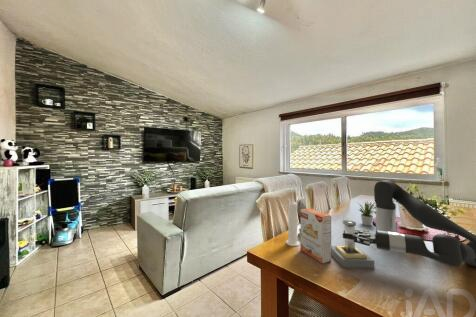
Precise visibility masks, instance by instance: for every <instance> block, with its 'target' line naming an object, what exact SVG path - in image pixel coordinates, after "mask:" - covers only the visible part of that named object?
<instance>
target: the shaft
mask: <svg viewBox="0 0 476 317" xmlns="http://www.w3.org/2000/svg"><path fill="white" fill-rule="evenodd" d="M342 224H343V225H344V230H345V233H347V234H355V230H356V228H355V226H357V222H356V221H354V220H351V219H350V220H349V219H345V220H342ZM344 246H345V252H346V253H355V247H356V242H354V241H353V239H352V240H351V239H345V238H344Z"/></svg>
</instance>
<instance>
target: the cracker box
mask: <svg viewBox="0 0 476 317" xmlns="http://www.w3.org/2000/svg"><path fill="white" fill-rule="evenodd" d="M300 228H301V234H300V235H301V237H300V238H299V239H300V241H299V243H300V244H299V246H300V248H299V249H300V251H301V252H303V253H304V254H306V255H308V256H309V257H311V258H312V259H314V260H316V261H317V262H318V263H320V264H321V265H322V264H326V263H330V262H332V254H331V246H332V215H330V214H327V213H324V212H321V211H318V210H316V209H313V208H309V207H308V208H301V209H300Z"/></svg>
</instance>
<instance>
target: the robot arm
mask: <svg viewBox="0 0 476 317" xmlns="http://www.w3.org/2000/svg"><path fill="white" fill-rule="evenodd" d="M373 195H374V202H375V205H376V206H375V207H376V208H375V211H376V212H375V233H372V232H370V230H365V229H364V230H361V229H360V230H359V229H355V234H347V233H345V229H344V230H343V233H342V238H343V239H344V240H345V239H351V240H352V239H353V241H354V242H355V244H360V245H364V246H368V247H370V246H371V245H376V248H377V249H378V250H384V251H390V252H395V253H404V254H410V255H415V256H420V257H425V258H428V259H430V260H433V261H435V262H439V263H441V264H443V265H445V266H448V267H454V268H455V267H460V266H461V265H463V263H465V264H468V265H470V266H472V267H475V268H476V235H475V234H474V233H472V232H470V231H469V230H467V229H466V228H464V227H462V226H460V225H459V224H457V223H456V222H454V221H452V220H451V219H450V218H448V217H447V216H446V215H443V214H442V213H441V212H440V211H438V210H436V209H435V208H433V207H432V206H430V205H428V204H426V203H425V202H423V201H422V200H420V199H419V198H418V197H415V196H414V195H412V194H410V193H409V192H408V191H406V190H405V189H404V188H403V187H401V186H400V185H399V184H397V183H396V182H394V181H392V180H388V179H387V180H386V179H385V180H380V181H377V182H376V183H375V184H374V189H373ZM394 201H396V202H398V203H400V204H401V205H402V207H403V208H404V209H405V210H406V211H407V212H408V214H409V215H410V216H411V217H413V219H415V220H416V221H417V222H420V224H422V226H425V227H427V228H429V229H433V230H437V231H441V232H446V233H450V234H453V235H456V236H459V237H462V238H464V239H466V240H468V242H467V243H464V242H462V241H461V240H460V239H459V238H456V237H454V236H452V235H448V234H444V233H440V234H435V235H434V236H432V240H431V241H432V242H431V243H432V250H433V252H432V251H430V250H429V249H428V247H427V245H426V243H425V240H424V239H423V237H421V236H418V235H412V234H406V233H405V234H404V233H399V232H398V222H397V221H396V220H397V218H396V216H397V214H396V213H397V212H396V211H397V209H396V208H397V205H396V203H394Z"/></svg>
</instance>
